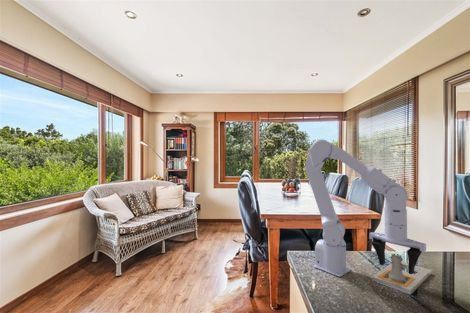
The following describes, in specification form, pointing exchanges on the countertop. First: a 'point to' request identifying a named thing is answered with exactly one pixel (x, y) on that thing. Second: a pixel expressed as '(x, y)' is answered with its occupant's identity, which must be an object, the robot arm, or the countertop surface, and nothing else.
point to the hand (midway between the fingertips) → (396, 268)
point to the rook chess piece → (397, 269)
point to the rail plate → (411, 279)
